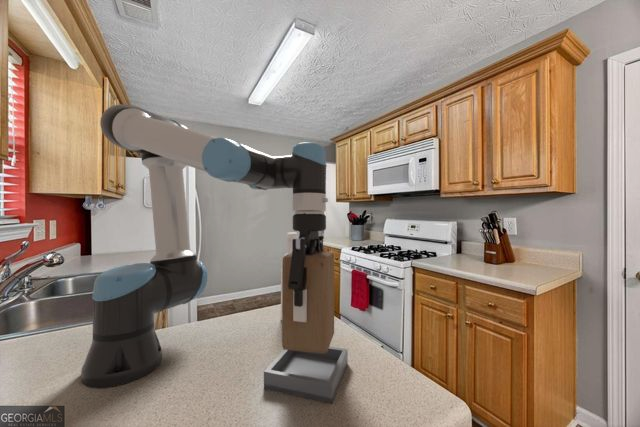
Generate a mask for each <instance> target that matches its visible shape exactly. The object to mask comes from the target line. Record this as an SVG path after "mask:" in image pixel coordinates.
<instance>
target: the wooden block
mask: <svg viewBox="0 0 640 427" xmlns="http://www.w3.org/2000/svg"><path fill="white" fill-rule="evenodd" d="M291 259H292V253H291V254H288V255H286V256H285V255H284V256H282V260H281V262H282V320H281V322H282V324H281V326H282V328H281V330H282V331H281V334H282V335H281V342H282V343H281V345H282V349H283V350H284V349H285V350H293V351H302V352H312V353H321V354H324V353H327V351H328V349H329V346H330V347H331V342H332V341H333V337H334V335H335V254H334V252H333V251H327V250H326V251H325V250H324V251H321V252H316V253H314V254H313V255H305V262H304V268H306V267H307V280H306V285H305V289H307V322H298V321H293V289H289V288H288V283H289V275H290V267H291ZM297 283H298V282H297Z"/></svg>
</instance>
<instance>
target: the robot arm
mask: <svg viewBox="0 0 640 427" xmlns="http://www.w3.org/2000/svg"><path fill="white" fill-rule="evenodd" d="M99 123H100V129H101V131H102V132H101V133H102V134H103V135H104V137H105V138H106V139H107V140H108V141H109V142H110V143H111V144H113V145H114V146H116V147H118V148H121V149H122V150H126V151H129V152H132V153H136V154H137V153H138V154H141V155H140V156H141V163H142V165H143V166H144V167H145V168H147V169H148V175H149V186H150V200H151V210H152V222H153V232H154V244H155V255H153V257H152V258H151V259H150V261H149V262H150V263H148V262H146V263H145V262H141V263H140V262H138V263H133V264H125V265H120V266H117V267H114V268H110V269H107V270H105V271H103V272H100V273H99V275H98V276H97V277H96V278H95V280H94V282H93V288H92V289H93V290H92V295H91V297H92V341H91V344H90V347H89V349H88V352H87V355H86V357H85V360H84V364H83V365H82V366H81V370H80V375H81V376H80V378H81V379H80V381H81V384H82V385H83V386H84V387H88V388H92V389H95V388H96V389H103V388H110V387H111V388H112V387H115V386H121V385H125V384H127V383H130V382H133V381H135V380H138V379H140V378H142V377H145V376H147V375H149V374H150V373H151V372H153V371H155V370H156V369H157V368H158V367H159V366H160V365H161V363H162V361H163V349H162V346H161V344H160V341H159V338H158V335H157V333H156V329H155V315H156V314H158V313H161V312H163V311H167V310H170V309H172V308H175V307H177V306H178V307H179V306H180V305H186V304H187V303H189V302H192V301H193V300H196V299H198V298H200V296H202V294H203V292H204V291H205V289H206V287H207V285H208V281H209V280H208V279H209V278H208V275H209V274H208V269H207V268H206V266H205V265H204V263H203V262H202V261H201V260H199V259H198V258H197V257H198V256H197V253H196V252H195V251H193V250H192V249H191V244H190V243H191V242H190V233H189V231H190V230H189V223H188V212H187V201H186V190H185V180H184V169H185V168H186V167H188V166H189V167H191V168H194V169H197V170H199V171H202V172H205V173H207V174H208V175H209V176H211V177H213V178H215V179H218V180H221V181H224V182H228V183H230V182H233V183H237V184H243V185H244V184H245V185H247V186H249V188H251V189H252V190H260V191H261V190H263V191H268V190H274V189H292V209H291V210H292V212H293V213H294V214H293V215H292V230H293V231H294V232H299V234H298V239H293V241H292V249H293V250H292V259H291V267H290V275H289V283H288V288H289V289H293V321H298V322H307V289H305V285H306V280H307V267H306V268H304V262H305V255H313V254H314V253H316V252H321V251H325V250H324V249H325V248H324V235H322V234H319V232H323V231H325V230H326V229H327V216H326V215H325V214H324V212H326V210H327V206H326V205H327V203H328V202H329V198H327V197H326V195H327V191H326V190H327V188H326V187H327V186H326V185H327V160H326V158H327V157H326V149H325V147H324V146H323V145H321V144H320V143H316V142H309V141H308V142H299V143H297V144H295V145H293V148H292V151H291V155H290V154H289V155H283V156H282V155H281V156H280V155H279V156H272V155H269V154H267V153H264V152H262V151H259V150H257V149H254V148H251V147H249V146H247V145H244V144H242V143H241V142H239V141H236V140H234V139H230V138H226V137H219V136H215V135H212V134H207V133H204V132H201V131H198V130H195V129H190V128H188V127H187V126H185V125H184V124H181V123H179V122H178V121H176V120H173V119H171V118H170V119H169V118H166V117H164V116H162V115H159V114H156V113H154V112H151V111H149V110H146V109H144V108H142V107H138V106H136V105H132V104H120V103H119V104H114V105H112V106H110V107H108V108H106V109H105V110H104V112H103V113H102V115H101V117H100V121H99ZM297 282H298V283H297Z"/></svg>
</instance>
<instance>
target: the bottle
mask: <svg viewBox="0 0 640 427" xmlns="http://www.w3.org/2000/svg"><path fill="white" fill-rule="evenodd" d="M293 239H299V235H298V232H287V233H286V241H287V242H286V243H287V244H286V248H287V249H286V253H285V254H284V256H286V255H288V254H291V253H292V250H293V249H292V241H293ZM280 321H282V261H281V263H280Z"/></svg>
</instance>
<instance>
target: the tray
mask: <svg viewBox="0 0 640 427" xmlns="http://www.w3.org/2000/svg"><path fill="white" fill-rule="evenodd" d="M348 355H349V354H348V348H341V347H335V346H331V345H330V346H329V349H328V351H327V353H324V354H321V353H312V352H302V351H293V350H285V349H283V350H282V351H281V352H280V353H279V355H278V356H277V357H275V359H274V360H273V361H272V362H271V363H270V364H269V365H268V366H267V368H265V370H264V371H263V389H264V390H268V391H272V392H277V393H282V394H286V395H291V396H295V397H299V398H304V399H309V400H314V401H319V402H321V403H327V404H333V402H334V400H335V397H336V395H337V392H338V389H339V387H340V384H341V381H342V379H343V376H344V373H345V371H346V369H347V366H348V362H349V360H348Z"/></svg>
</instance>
